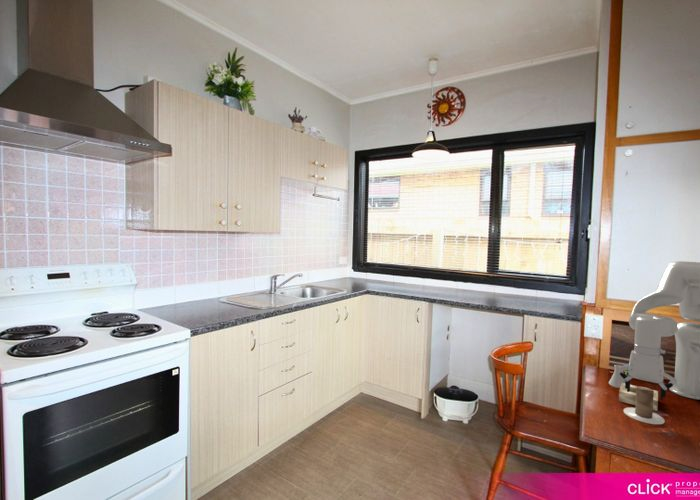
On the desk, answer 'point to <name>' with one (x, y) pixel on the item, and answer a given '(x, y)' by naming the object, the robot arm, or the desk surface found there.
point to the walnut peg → (644, 402)
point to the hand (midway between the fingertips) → (644, 394)
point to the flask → (616, 378)
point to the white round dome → (654, 420)
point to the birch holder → (634, 396)
